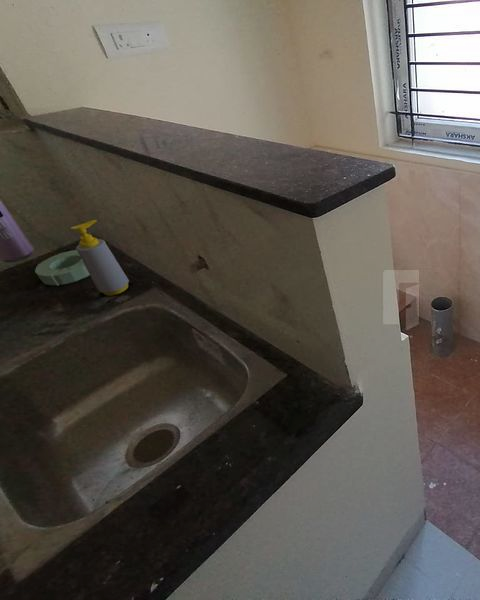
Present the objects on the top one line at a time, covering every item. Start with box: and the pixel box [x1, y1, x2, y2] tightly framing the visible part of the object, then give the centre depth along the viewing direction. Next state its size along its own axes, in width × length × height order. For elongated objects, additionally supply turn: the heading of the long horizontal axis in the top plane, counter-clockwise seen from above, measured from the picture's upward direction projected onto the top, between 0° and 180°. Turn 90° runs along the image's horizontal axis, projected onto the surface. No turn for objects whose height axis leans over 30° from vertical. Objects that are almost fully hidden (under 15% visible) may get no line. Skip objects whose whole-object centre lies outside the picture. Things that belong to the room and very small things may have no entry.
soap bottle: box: [70, 219, 130, 296], centre depth 93 cm, size 7×7×18 cm
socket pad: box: [34, 249, 90, 287], centre depth 105 cm, size 13×13×3 cm
